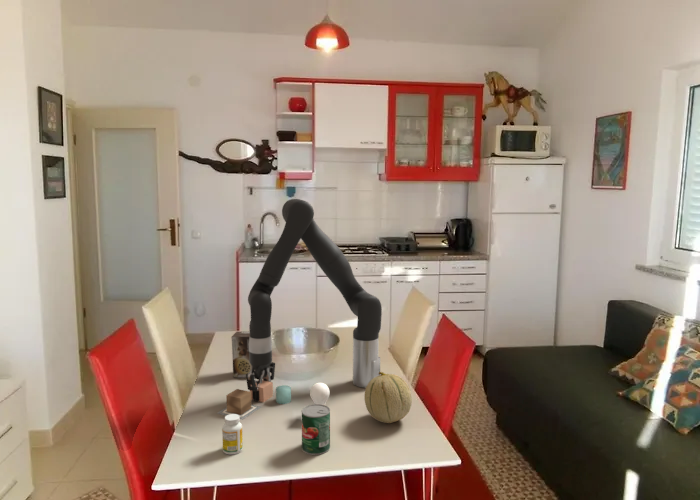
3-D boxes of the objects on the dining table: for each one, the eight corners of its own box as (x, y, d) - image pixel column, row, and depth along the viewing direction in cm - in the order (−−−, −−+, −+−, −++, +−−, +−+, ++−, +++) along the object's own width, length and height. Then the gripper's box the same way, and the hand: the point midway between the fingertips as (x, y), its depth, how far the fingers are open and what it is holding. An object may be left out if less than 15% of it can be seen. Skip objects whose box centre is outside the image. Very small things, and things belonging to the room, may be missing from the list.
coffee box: (260, 372, 201) (259, 331, 199) (256, 378, 195) (255, 336, 193) (237, 371, 202) (236, 330, 200) (232, 377, 196) (231, 335, 193)
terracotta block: (272, 397, 178) (272, 382, 177) (263, 404, 173) (263, 388, 172) (259, 394, 180) (259, 379, 179) (250, 400, 175) (249, 385, 174)
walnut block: (251, 408, 168) (251, 391, 168) (241, 415, 163) (240, 398, 163) (237, 404, 171) (237, 388, 170) (226, 411, 166) (226, 395, 165)
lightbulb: (332, 414, 166) (332, 380, 164) (325, 422, 160) (325, 388, 158) (314, 411, 168) (314, 378, 166) (307, 419, 162) (306, 385, 160)
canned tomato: (296, 451, 143) (296, 413, 141) (308, 438, 150) (308, 402, 149) (323, 457, 140) (323, 418, 139) (334, 443, 147) (334, 406, 146)
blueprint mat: (261, 408, 169) (261, 406, 169) (242, 421, 160) (242, 419, 160) (236, 402, 174) (236, 400, 174) (216, 415, 165) (216, 412, 165)
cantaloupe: (404, 435, 152) (405, 386, 150) (357, 426, 157) (357, 379, 155) (416, 413, 166) (417, 368, 164) (372, 406, 171) (372, 362, 169)
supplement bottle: (230, 457, 140) (229, 423, 139) (218, 450, 143) (217, 417, 142) (246, 449, 144) (246, 416, 143) (234, 443, 147) (233, 410, 146)
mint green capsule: (293, 401, 175) (293, 386, 175) (285, 407, 171) (285, 392, 170) (281, 398, 177) (281, 384, 177) (273, 404, 173) (272, 389, 172)
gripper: (257, 357, 166) (258, 407, 168) (281, 344, 179) (282, 391, 181) (238, 353, 169) (239, 403, 172) (263, 341, 182) (264, 387, 184)
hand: (261, 397), depth 176 cm, fingers closed on terracotta block, 5 cm apart
